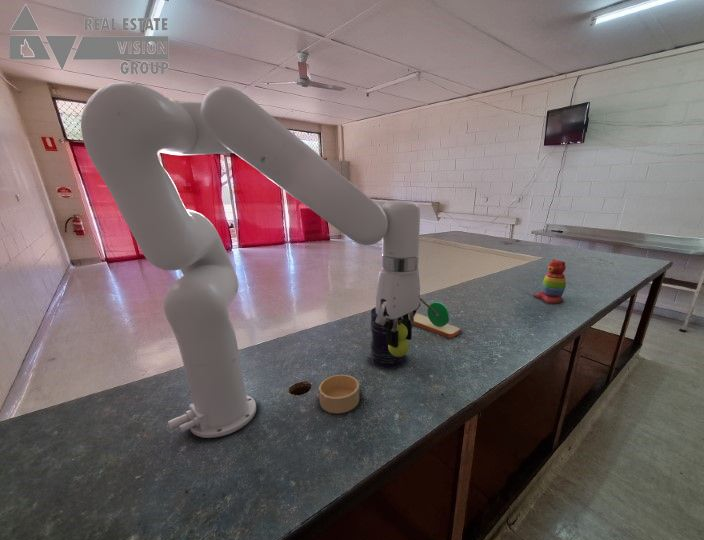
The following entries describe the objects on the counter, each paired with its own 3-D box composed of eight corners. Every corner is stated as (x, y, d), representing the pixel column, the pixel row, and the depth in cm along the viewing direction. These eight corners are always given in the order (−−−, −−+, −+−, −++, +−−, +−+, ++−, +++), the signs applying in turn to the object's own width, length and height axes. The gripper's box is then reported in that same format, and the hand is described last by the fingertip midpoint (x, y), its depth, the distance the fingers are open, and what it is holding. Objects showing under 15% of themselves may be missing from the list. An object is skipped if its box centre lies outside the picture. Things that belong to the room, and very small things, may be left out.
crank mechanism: (394, 317, 119) (395, 267, 112) (405, 312, 124) (407, 264, 117) (450, 338, 104) (455, 282, 97) (461, 332, 109) (466, 278, 102)
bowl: (337, 419, 68) (336, 404, 66) (312, 401, 73) (310, 386, 72) (367, 399, 74) (367, 385, 73) (342, 383, 80) (341, 370, 78)
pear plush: (399, 363, 70) (400, 327, 67) (383, 355, 73) (383, 320, 70) (413, 355, 73) (414, 320, 70) (397, 348, 76) (398, 314, 73)
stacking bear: (532, 295, 146) (539, 258, 140) (550, 294, 149) (558, 257, 143) (549, 304, 137) (558, 264, 130) (568, 302, 139) (577, 262, 133)
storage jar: (367, 366, 87) (366, 317, 82) (374, 349, 96) (374, 303, 91) (402, 370, 86) (404, 320, 81) (407, 352, 95) (408, 306, 90)
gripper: (411, 254, 74) (409, 325, 80) (357, 267, 62) (360, 349, 68) (437, 259, 69) (433, 334, 76) (385, 274, 57) (385, 362, 64)
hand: (398, 340), depth 72 cm, fingers closed on pear plush, 4 cm apart
